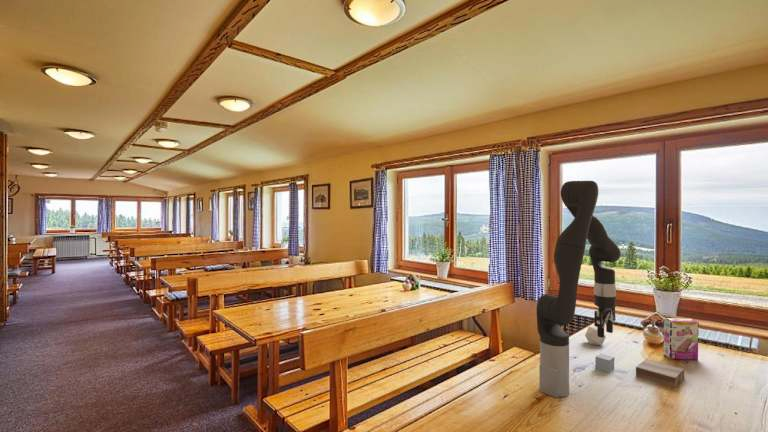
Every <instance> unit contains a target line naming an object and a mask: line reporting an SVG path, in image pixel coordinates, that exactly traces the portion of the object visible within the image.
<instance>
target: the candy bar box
mask: <svg viewBox="0 0 768 432" xmlns="http://www.w3.org/2000/svg"><path fill="white" fill-rule="evenodd" d="M699 325H700V324H699V321H697V320H695V319H693V318H680V317H679V318H677V317H676V318H675V317H663V342H662V343H663V349H662V351H663V352H662V354H663V356H664V357H666V358H667V359H668V360H687V361H690V360H691V361H698V360H699V330H700V329H699Z"/></svg>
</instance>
